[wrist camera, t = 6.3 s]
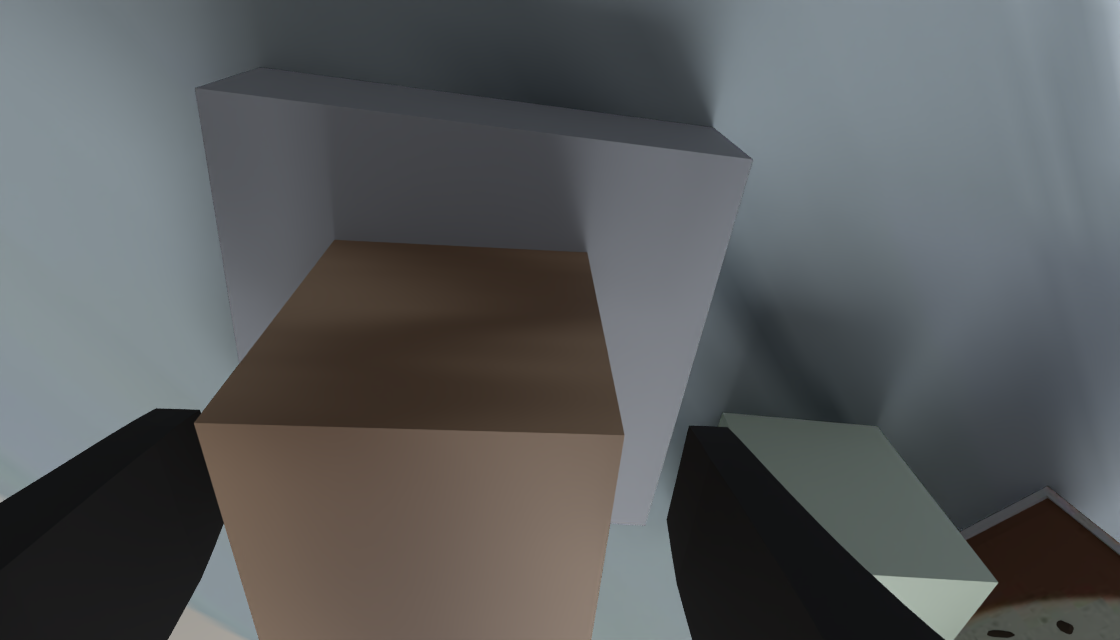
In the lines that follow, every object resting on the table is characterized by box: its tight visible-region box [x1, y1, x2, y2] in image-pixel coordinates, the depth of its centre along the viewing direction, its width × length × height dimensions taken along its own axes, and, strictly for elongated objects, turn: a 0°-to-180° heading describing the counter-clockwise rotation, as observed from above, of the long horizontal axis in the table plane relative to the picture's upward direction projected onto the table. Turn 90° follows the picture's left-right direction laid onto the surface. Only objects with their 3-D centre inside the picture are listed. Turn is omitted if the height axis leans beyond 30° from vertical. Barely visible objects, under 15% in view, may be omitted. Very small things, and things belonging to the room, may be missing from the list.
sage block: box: [718, 413, 998, 640], centre depth 15 cm, size 4×4×5 cm
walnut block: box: [194, 240, 625, 640], centre depth 10 cm, size 4×4×5 cm
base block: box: [195, 67, 753, 526], centre depth 13 cm, size 9×9×3 cm
